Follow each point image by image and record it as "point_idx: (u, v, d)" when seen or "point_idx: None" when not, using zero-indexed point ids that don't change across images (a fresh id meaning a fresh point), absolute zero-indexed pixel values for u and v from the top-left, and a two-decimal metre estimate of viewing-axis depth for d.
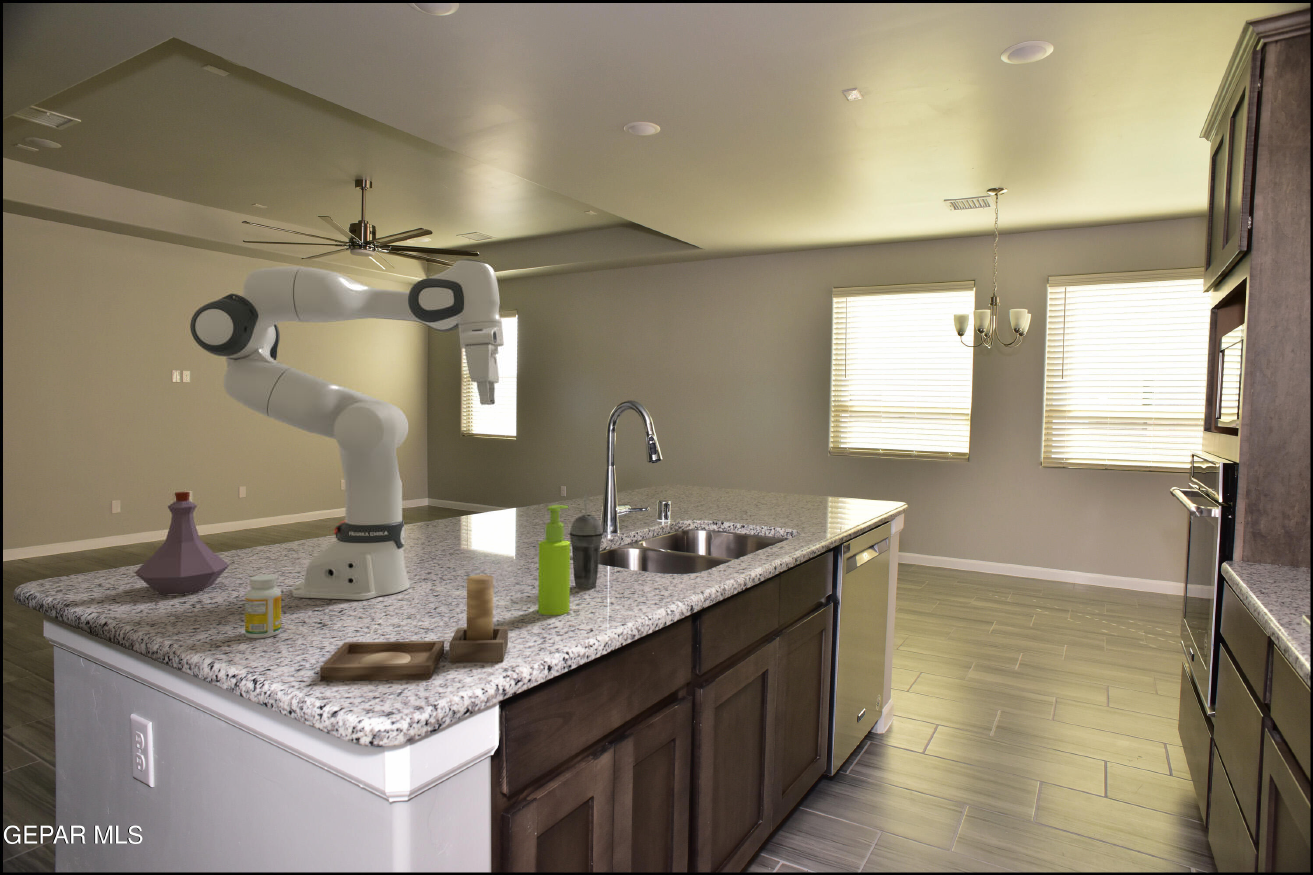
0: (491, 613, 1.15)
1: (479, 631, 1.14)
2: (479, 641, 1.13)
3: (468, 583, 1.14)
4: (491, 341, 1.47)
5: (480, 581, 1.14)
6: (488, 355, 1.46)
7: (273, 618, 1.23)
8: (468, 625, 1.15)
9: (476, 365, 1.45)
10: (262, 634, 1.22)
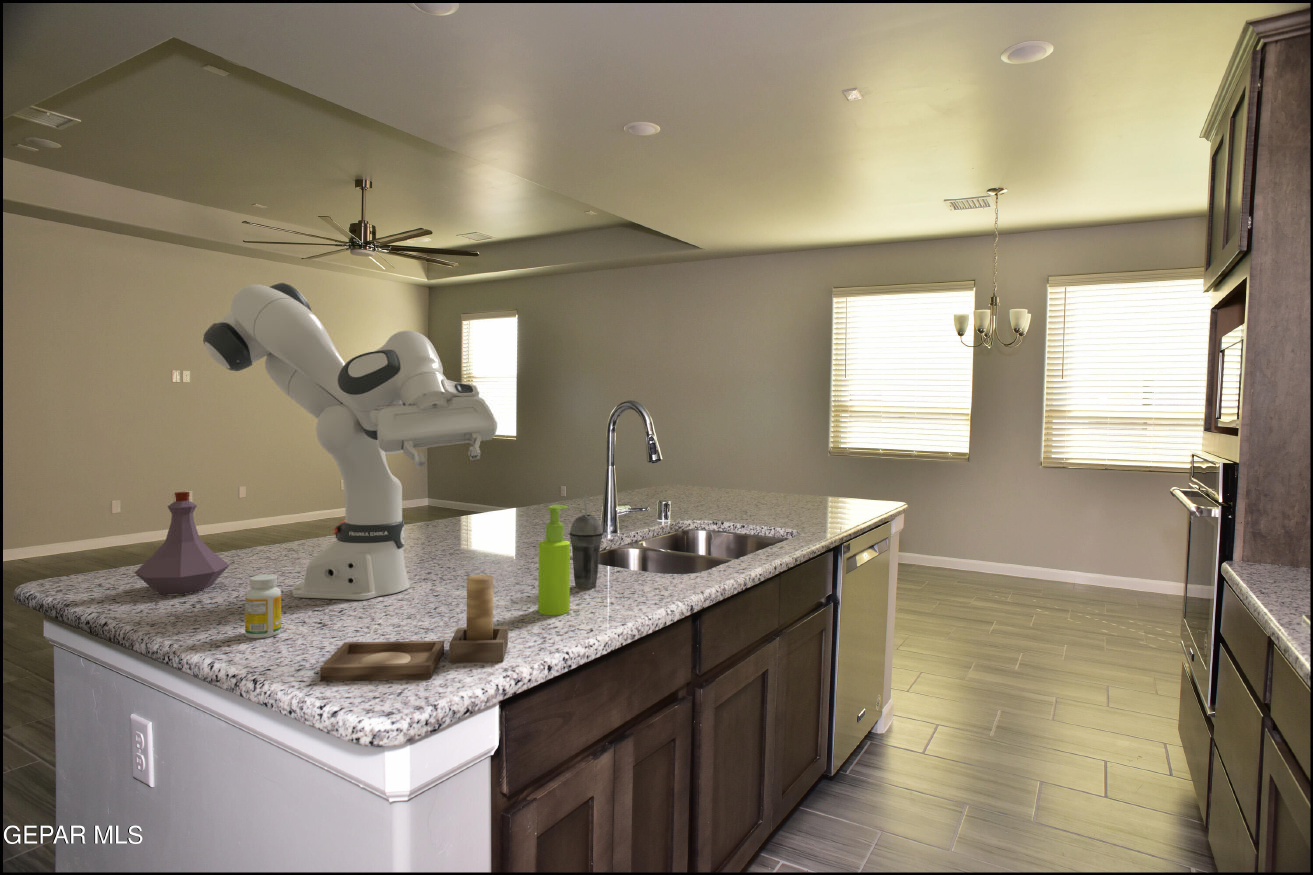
0: (491, 613, 1.15)
1: (479, 631, 1.14)
2: (479, 641, 1.13)
3: (468, 583, 1.14)
4: None
5: (480, 581, 1.14)
6: None
7: (273, 618, 1.23)
8: (468, 625, 1.15)
9: None
10: (262, 634, 1.22)
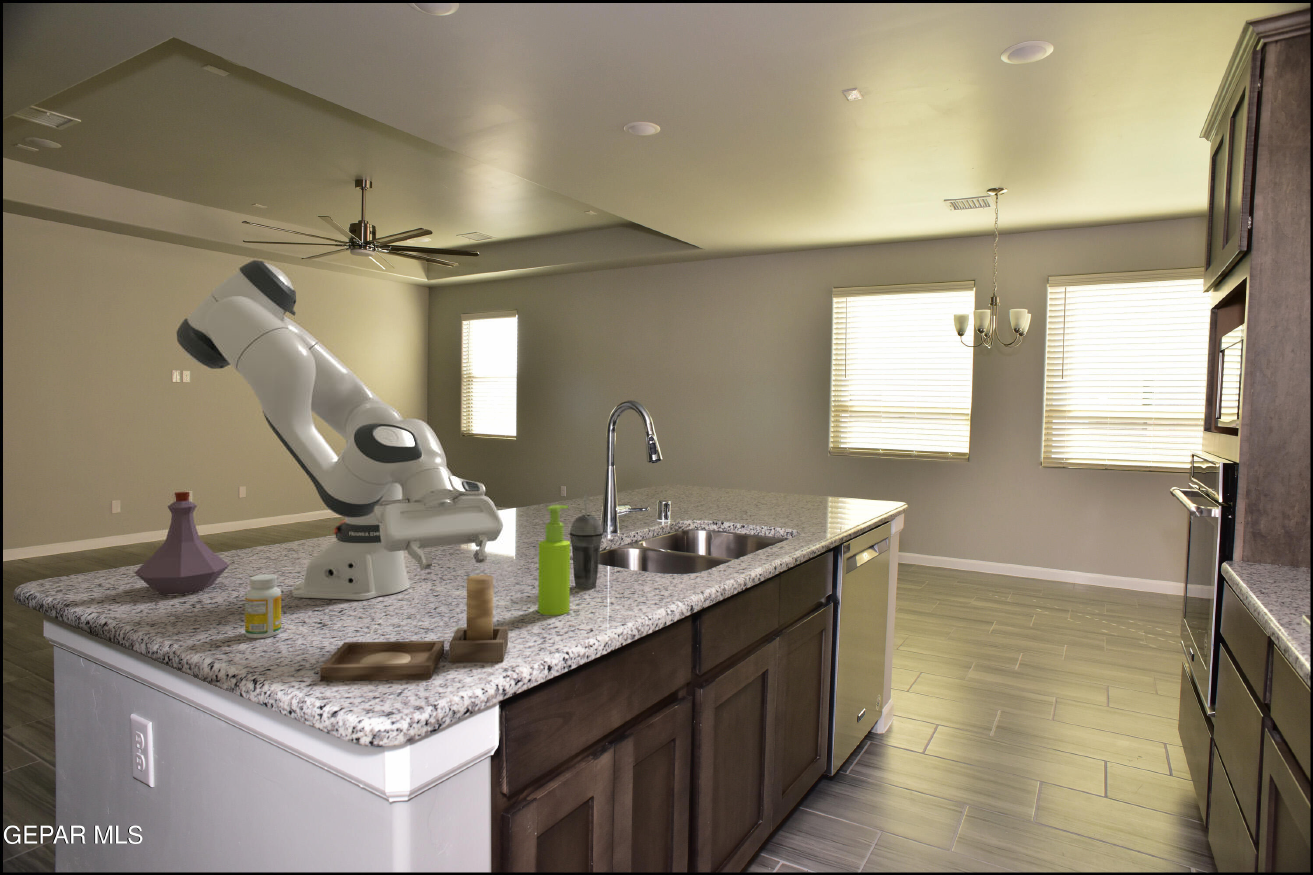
0: (491, 613, 1.15)
1: (479, 631, 1.14)
2: (479, 641, 1.13)
3: (468, 583, 1.14)
4: None
5: (480, 581, 1.14)
6: None
7: (273, 618, 1.23)
8: (468, 625, 1.15)
9: None
10: (262, 634, 1.22)
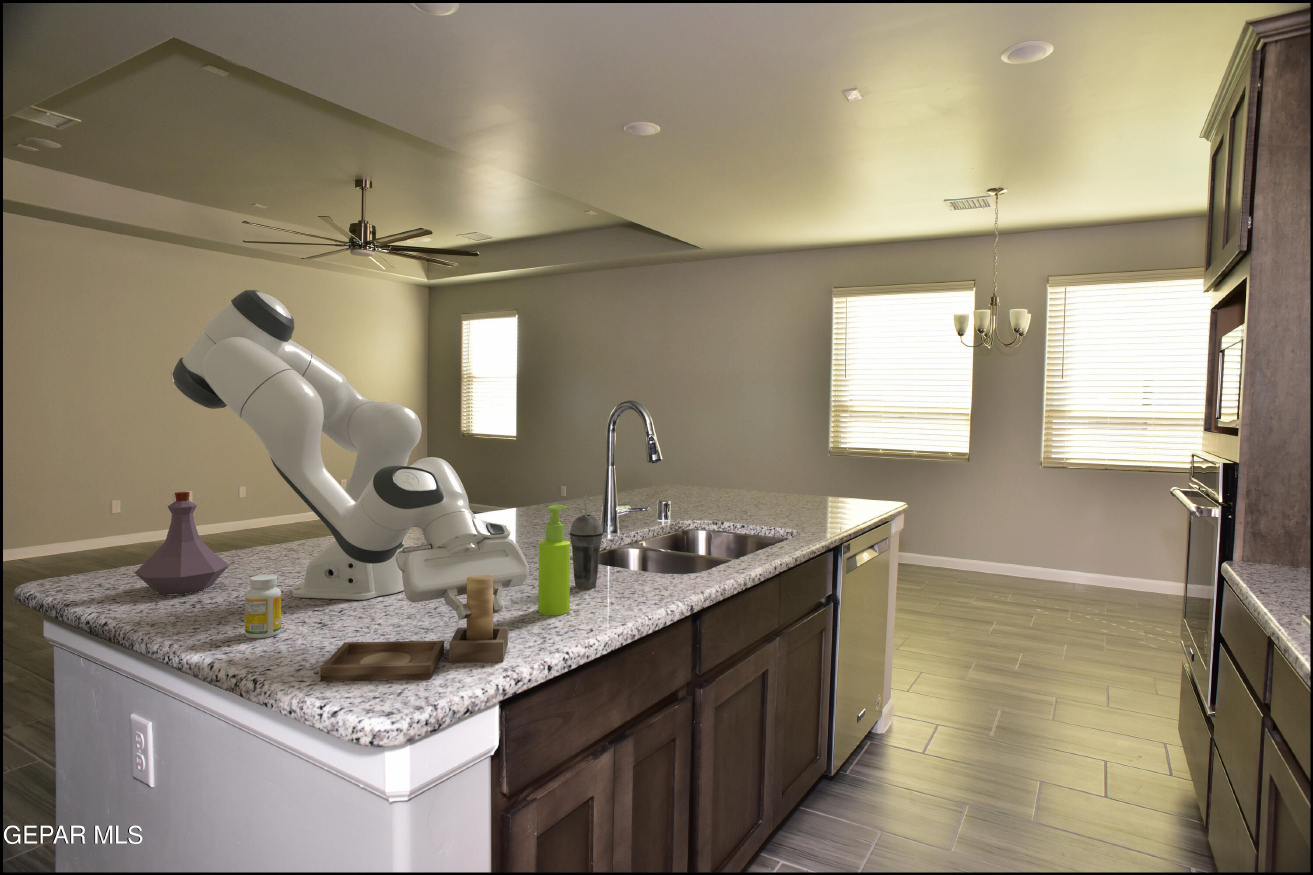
0: (491, 613, 1.15)
1: (479, 631, 1.14)
2: (479, 641, 1.13)
3: (468, 583, 1.14)
4: None
5: (480, 581, 1.14)
6: None
7: (273, 618, 1.23)
8: (468, 625, 1.15)
9: None
10: (262, 634, 1.22)
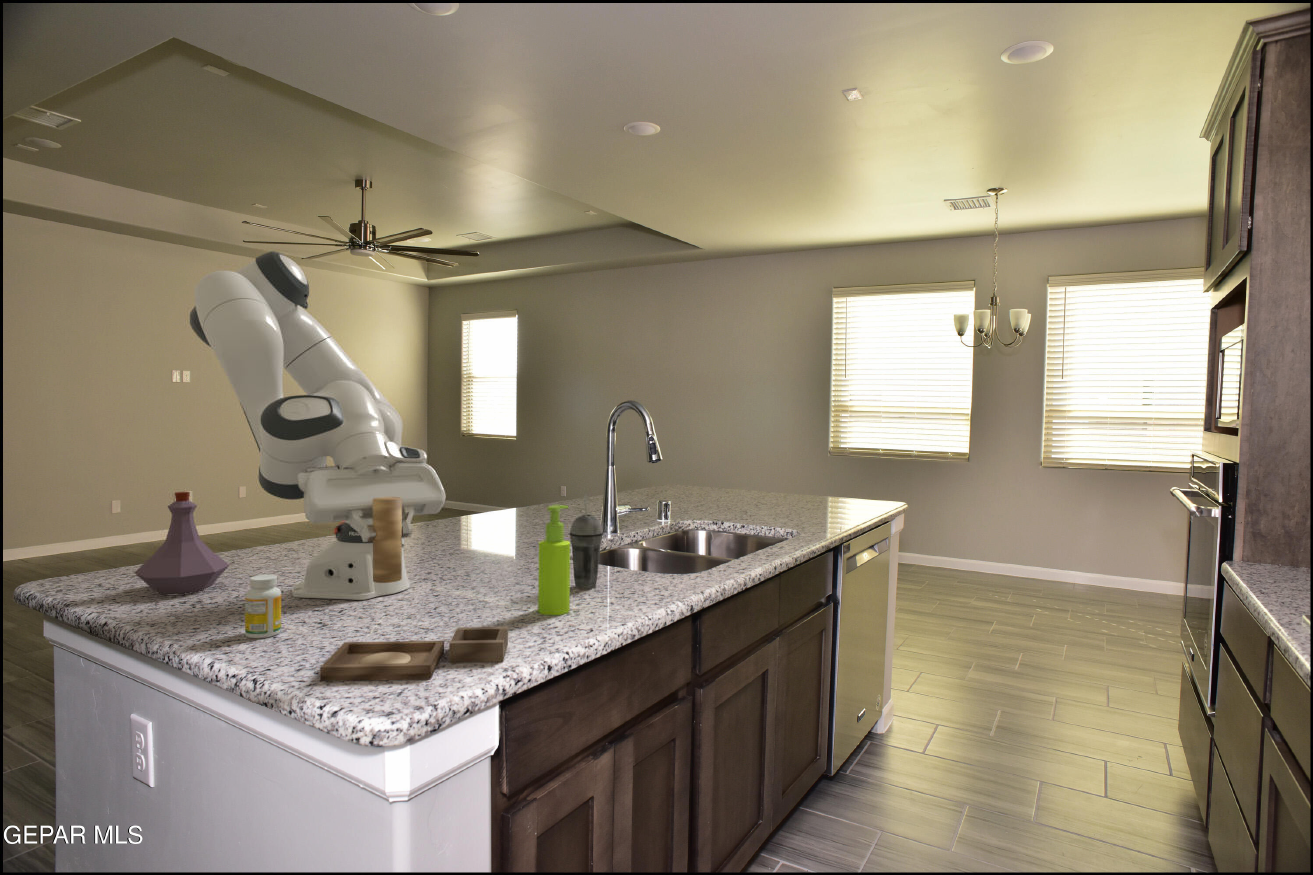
0: (399, 536, 1.09)
1: (385, 555, 1.07)
2: (479, 641, 1.13)
3: (373, 503, 1.07)
4: None
5: (386, 501, 1.07)
6: None
7: (273, 618, 1.23)
8: (374, 548, 1.08)
9: None
10: (262, 634, 1.22)
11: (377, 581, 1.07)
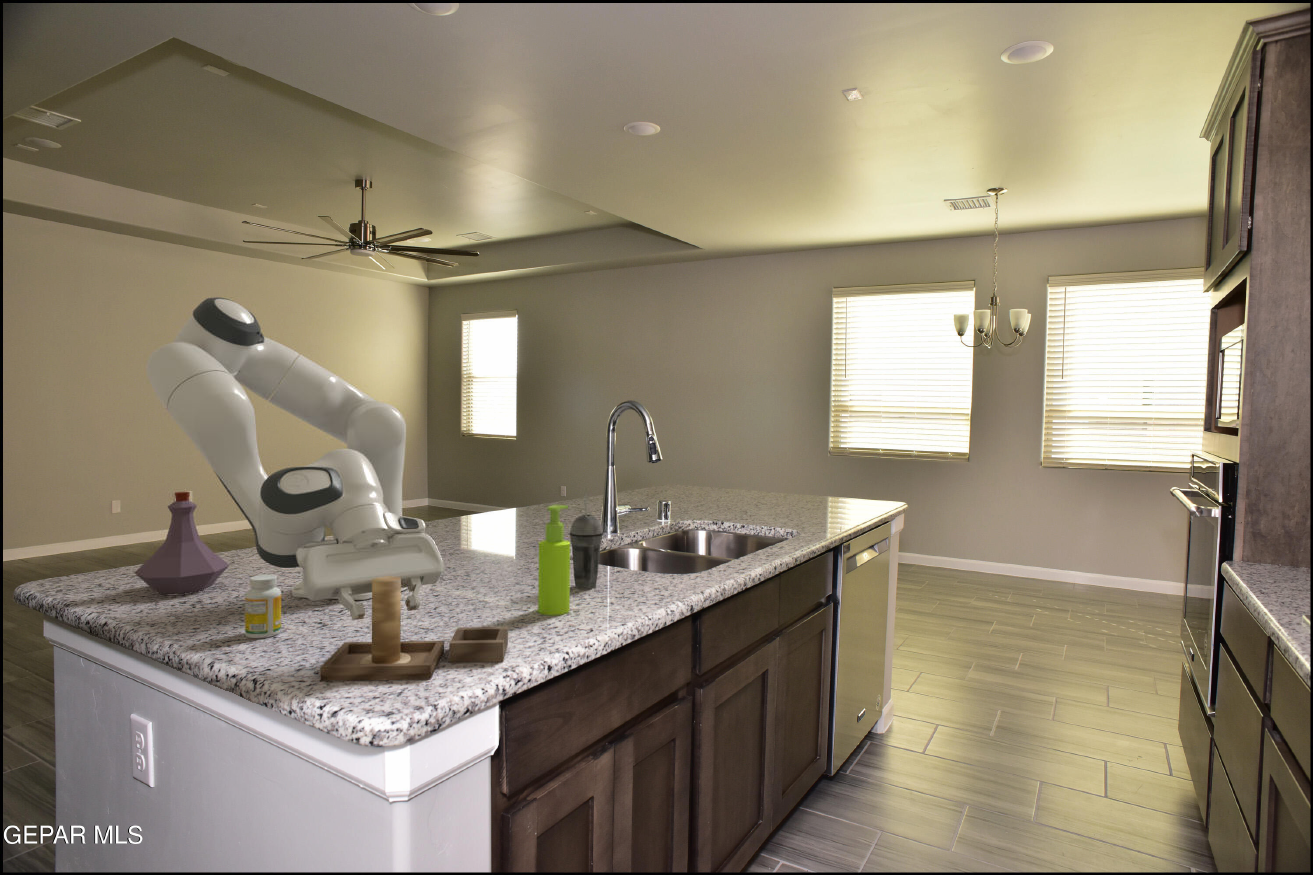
0: (398, 617, 1.09)
1: (384, 636, 1.08)
2: (479, 641, 1.13)
3: (373, 585, 1.08)
4: None
5: (385, 583, 1.07)
6: None
7: (273, 618, 1.23)
8: (373, 630, 1.08)
9: None
10: (262, 634, 1.22)
11: (376, 662, 1.08)
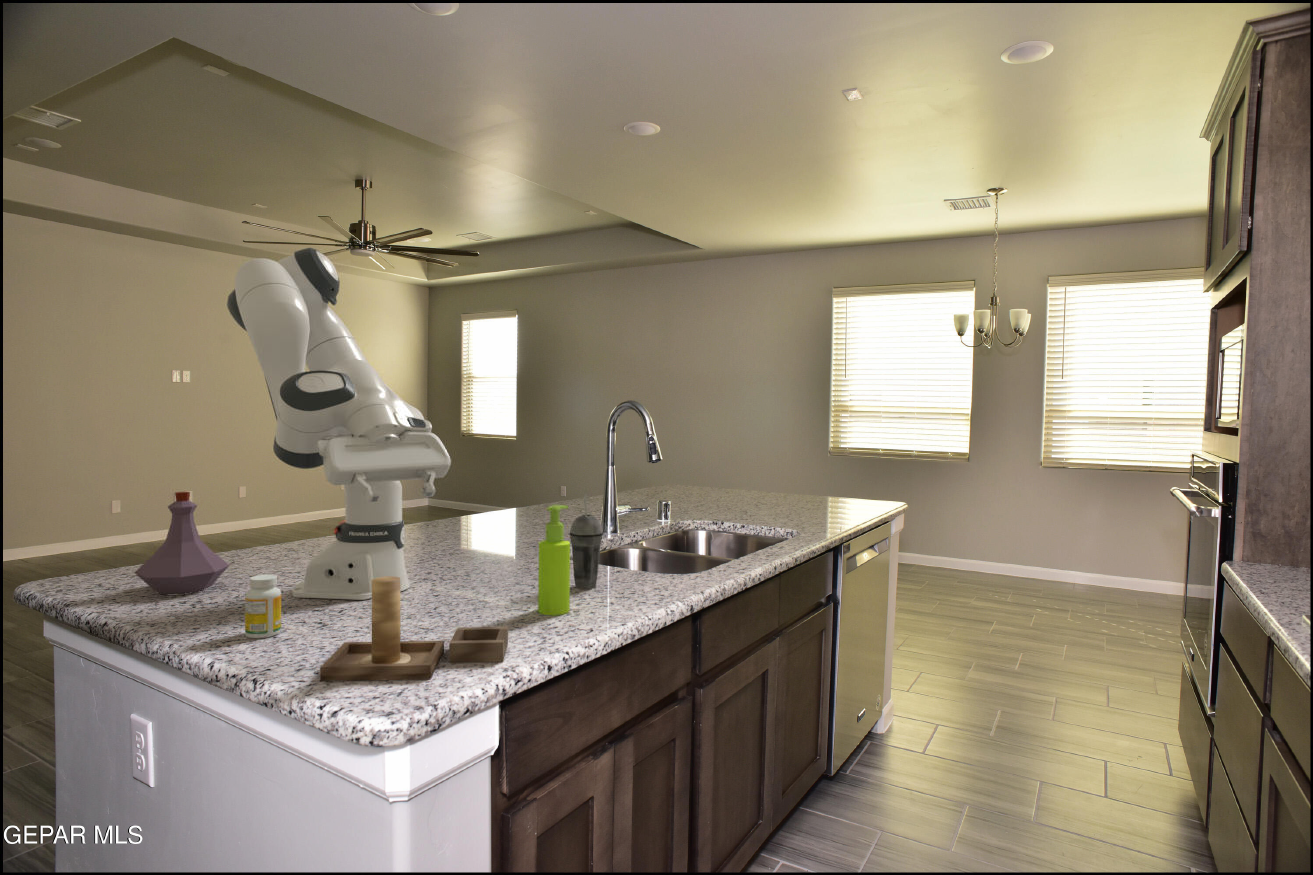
0: (398, 617, 1.09)
1: (384, 637, 1.08)
2: (479, 641, 1.13)
3: (372, 585, 1.08)
4: None
5: (384, 583, 1.07)
6: None
7: (273, 618, 1.23)
8: (372, 630, 1.08)
9: None
10: (262, 634, 1.22)
11: (376, 662, 1.08)
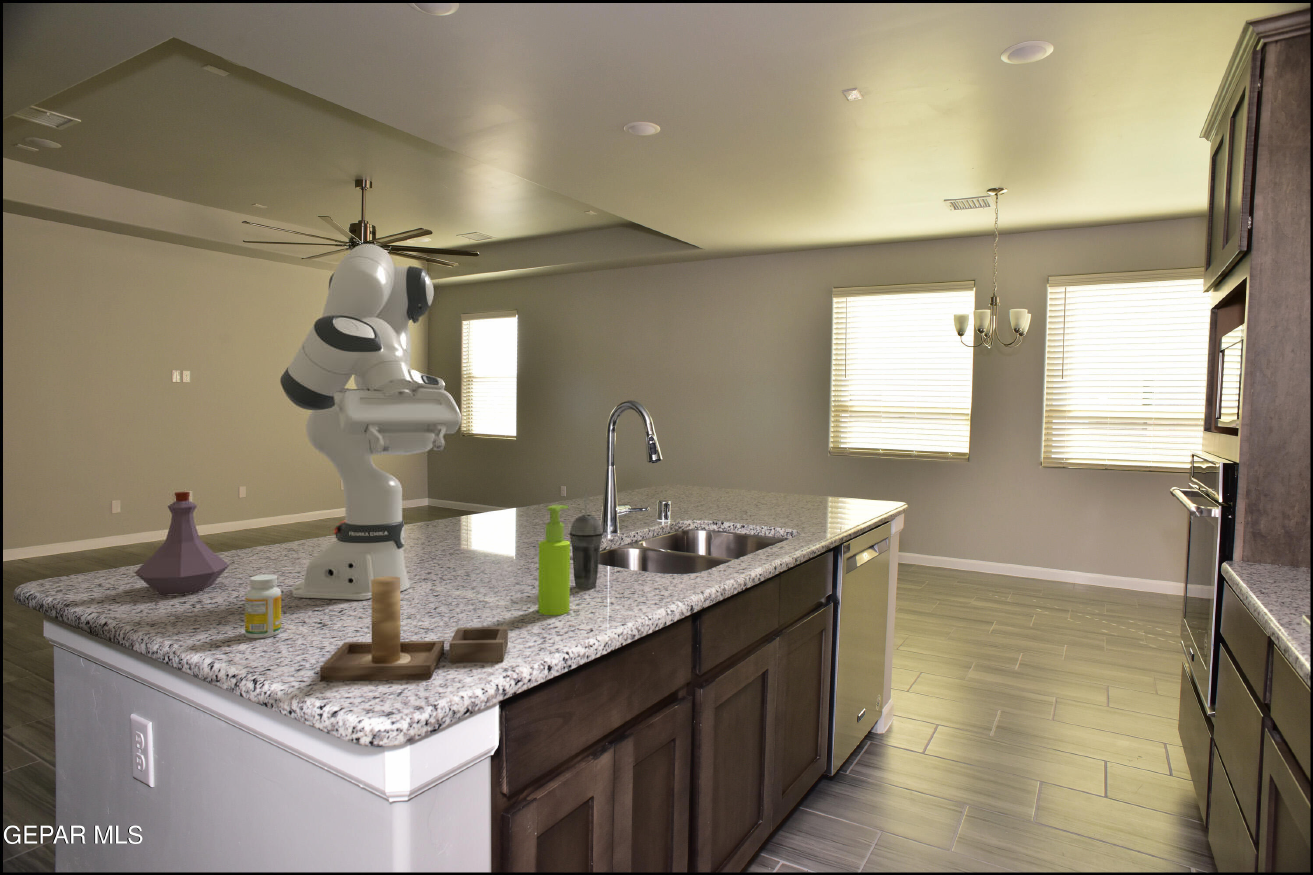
0: (398, 617, 1.09)
1: (384, 637, 1.08)
2: (479, 641, 1.13)
3: (372, 585, 1.08)
4: None
5: (384, 583, 1.07)
6: None
7: (273, 618, 1.23)
8: (372, 630, 1.08)
9: None
10: (262, 634, 1.22)
11: (376, 662, 1.08)
